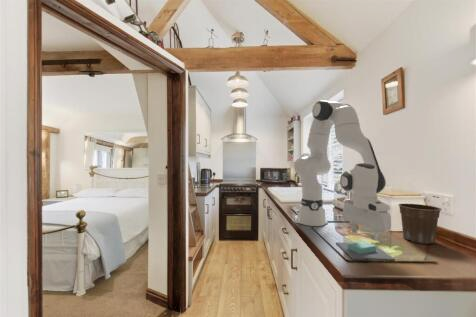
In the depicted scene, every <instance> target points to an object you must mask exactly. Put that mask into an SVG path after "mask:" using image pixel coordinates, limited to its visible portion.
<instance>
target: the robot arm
mask: <svg viewBox="0 0 476 317" xmlns="http://www.w3.org/2000/svg"><path fill="white" fill-rule="evenodd" d="M311 111H312V112H311V113H312V116H313V120H312V122H311V124H310V125H311V126H310V129H309V135H308V138H307V142H306V143H307V144H306V146H307V147H308V149H309V152H310V153H309V154H310V156H302V157H299V158H296V160H295V161H294V164H293V168H294V172H295V173H296V174H297V175H298V177H299V179H300V182H301V187H302V188H301V193H302V195H301V196H302V197H301V200H300V207H298V209H296V211H295V213H296V214H297V215H295V216H294V222H295V223H296V224H301V225H304V226H311V227H322V226H324V225H328V224H329V222H328V221H327V220H326V209H325V207H323V204H324V201H323V200H324V199H323V186H322V184H321V183H320V182H319V180H318V176H322V175H325V174H328V173H329V172H330V170H331V166H332V165H331V162H330V161H329V158H328V146H329V145H328V144H329V140H330V135H331V129H332V127H333V126H334V133H335V139H336V140H337V142H338V144H340V145H342V146H343V147H345V148H347V149H348V148H349V149H351V150H353V151H356V152H357V153H358V154H360V156H361V157H362V158H361V159H362V160H363V163H356V164H355V165H354V167H353V168H351V169H349V170H346V171H344V172H343V173H342V174H341V175H340V180H339V183H340V186H341V188H342V189H343V190H344V191H346V192H349V193H353V194H352V199H346V200H344V202H343V209H342V216H341V217H342V219H343V220H344V221H347V222H348V223H349V224H348V225H349V226H350V228H351V233H353V234H358V228H357V227H356V225H359V226H363V227H366V228H369V229H373V232H374V234H371V240H372V241H376V242H377V241H379V236H380V235H381V233H387V232H390V231H391V229H392V217H391V214H390V212H389V211H390V210H391V207H390V205H388V204H387V203H385V202H383V201H382V200H380V199H378V194H379V193H380V192H382V191H383V190H384V189H385V187H386V184H387V182H386V177H385V175H384V174H383V172H382V170H381V168H380V165H379V162H378V159H377V156H376V154H375V150H374V149H373V144H372V142H371V140H370V139H369V138H367V137H366V136H365V134H364V133H363V131H362V129H361V124H360V120H359V117H358V113H357V111H356V109H355V108H354V107H353V106H351V105H350V104H348V103H343V102H339V101H330V100H329V101H328V100H318V101H316V102H315V103H314V105H313V107H312V110H311Z"/></svg>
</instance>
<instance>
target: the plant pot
mask: <svg viewBox="0 0 476 317" xmlns="http://www.w3.org/2000/svg"><path fill="white" fill-rule="evenodd" d="M398 207H399V213H400V219H401V227H402V228H401V229H402V238H403V239H405V240H406V241H410V242H412V243H418V244H420V245H421V244H422V245H431V244H435V243H436V239H437V238H436V236H437V229H438V223H439V222H438V220H439V218H440V213H441V211H442V208H440V207H437V206H433V205H427V204H419V203H398Z"/></svg>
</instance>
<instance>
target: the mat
mask: <svg viewBox="0 0 476 317" xmlns="http://www.w3.org/2000/svg"><path fill="white" fill-rule="evenodd" d="M348 243H349V242H339V241H338V242H335V244H336V246H338V247H339V248H340V249H341V250H342V251H343V252H344V254H346V253H347V254H348V255H349V256H350V257H351V258H352V259H351V258H350V257H349V256H348V255H347V254H346V255H347V256H348V257H349V258H350V259H351V260H364V259H368V261H372V260H373V261H391V260H392V261H396V258H394V257H393V256H391V255H390V254H388V253H387V252H386V251H384V250H383V249H382V248H380V247H378V246H377V245H375V244H374V243H372V244H373V245H375V246H376V251H375V252H369V253H364V254H358V253H356V252H354V251H352V250H349V249H348Z"/></svg>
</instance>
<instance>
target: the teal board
mask: <svg viewBox="0 0 476 317" xmlns="http://www.w3.org/2000/svg"><path fill="white" fill-rule="evenodd" d="M347 243H348V249H349V250H352V251H354V252H356V253H358V254H364V253H369V252H375V251H376V246H377V245H376V244H374V243H369V242H367V241H365V240H361V241H355V242H354V241H353V242H347ZM373 244H374V245H373Z"/></svg>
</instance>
